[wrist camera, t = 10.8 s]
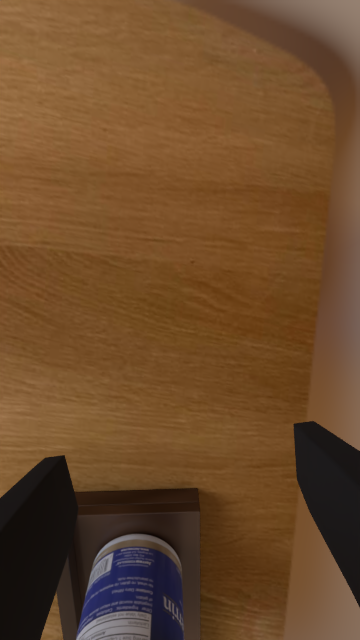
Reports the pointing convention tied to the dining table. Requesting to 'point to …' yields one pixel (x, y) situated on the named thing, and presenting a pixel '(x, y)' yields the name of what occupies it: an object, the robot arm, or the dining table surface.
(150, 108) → the dining table surface
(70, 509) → the robot arm
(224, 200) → the dining table surface
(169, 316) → the dining table surface
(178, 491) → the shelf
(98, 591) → the pill bottle
